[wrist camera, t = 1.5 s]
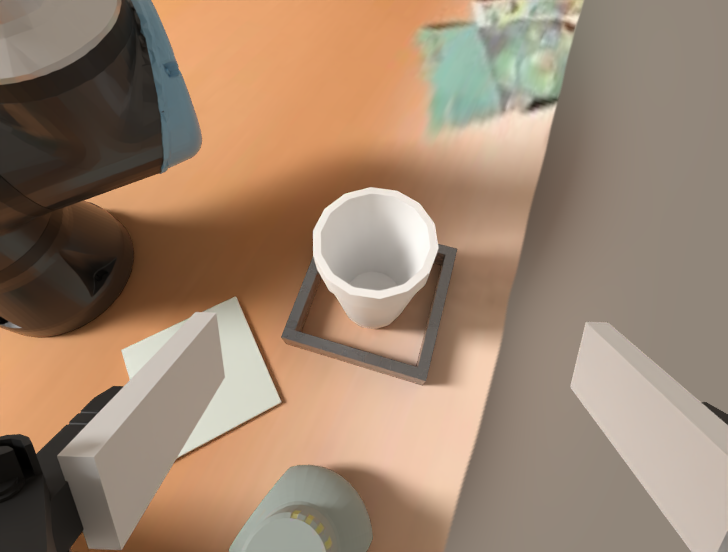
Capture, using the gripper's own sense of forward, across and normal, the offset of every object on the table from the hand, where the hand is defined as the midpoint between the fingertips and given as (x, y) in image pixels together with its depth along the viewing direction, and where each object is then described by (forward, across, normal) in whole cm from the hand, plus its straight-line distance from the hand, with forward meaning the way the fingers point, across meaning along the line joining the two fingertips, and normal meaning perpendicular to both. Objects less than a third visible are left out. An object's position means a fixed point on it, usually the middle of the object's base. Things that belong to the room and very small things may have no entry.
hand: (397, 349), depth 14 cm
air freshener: (+11, -6, -25) cm, 28 cm away
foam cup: (+26, -1, -10) cm, 27 cm away
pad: (+20, -18, -15) cm, 30 cm away
